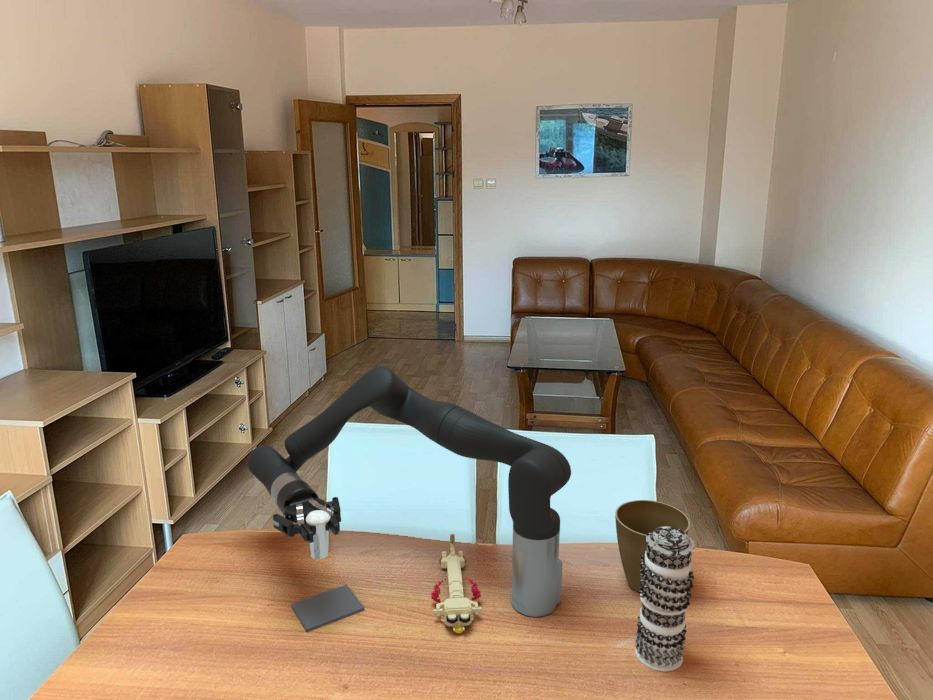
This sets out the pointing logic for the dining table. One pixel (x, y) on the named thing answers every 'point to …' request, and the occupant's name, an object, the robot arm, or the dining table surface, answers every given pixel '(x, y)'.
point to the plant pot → (642, 531)
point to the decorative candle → (664, 598)
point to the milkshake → (319, 533)
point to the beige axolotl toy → (455, 592)
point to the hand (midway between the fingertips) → (324, 534)
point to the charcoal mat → (327, 607)
